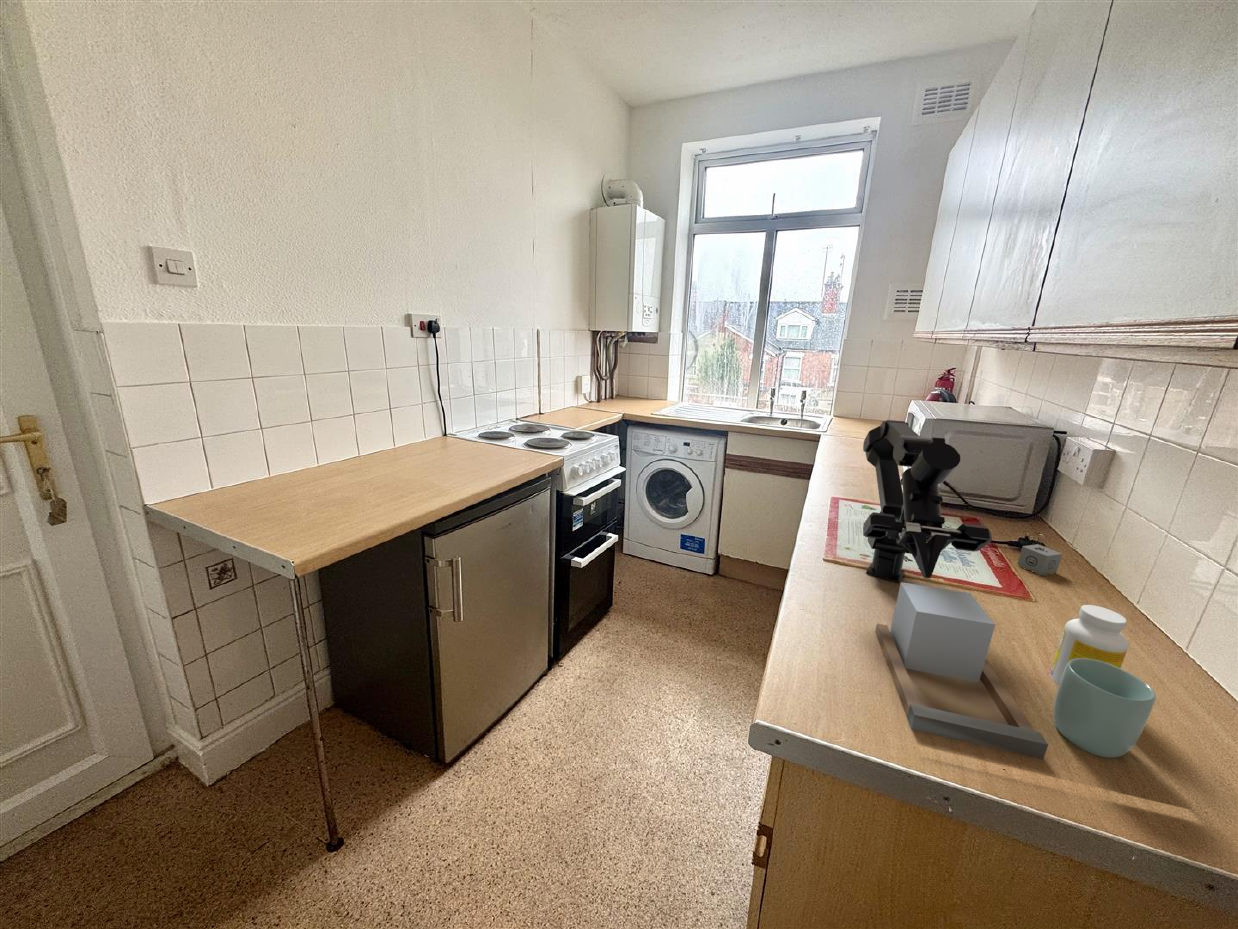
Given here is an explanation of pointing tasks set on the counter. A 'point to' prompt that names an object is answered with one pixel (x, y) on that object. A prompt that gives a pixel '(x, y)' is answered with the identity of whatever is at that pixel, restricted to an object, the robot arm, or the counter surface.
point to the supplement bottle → (1091, 639)
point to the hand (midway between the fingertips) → (927, 577)
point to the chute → (961, 706)
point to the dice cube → (1039, 559)
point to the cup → (1101, 707)
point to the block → (941, 631)
